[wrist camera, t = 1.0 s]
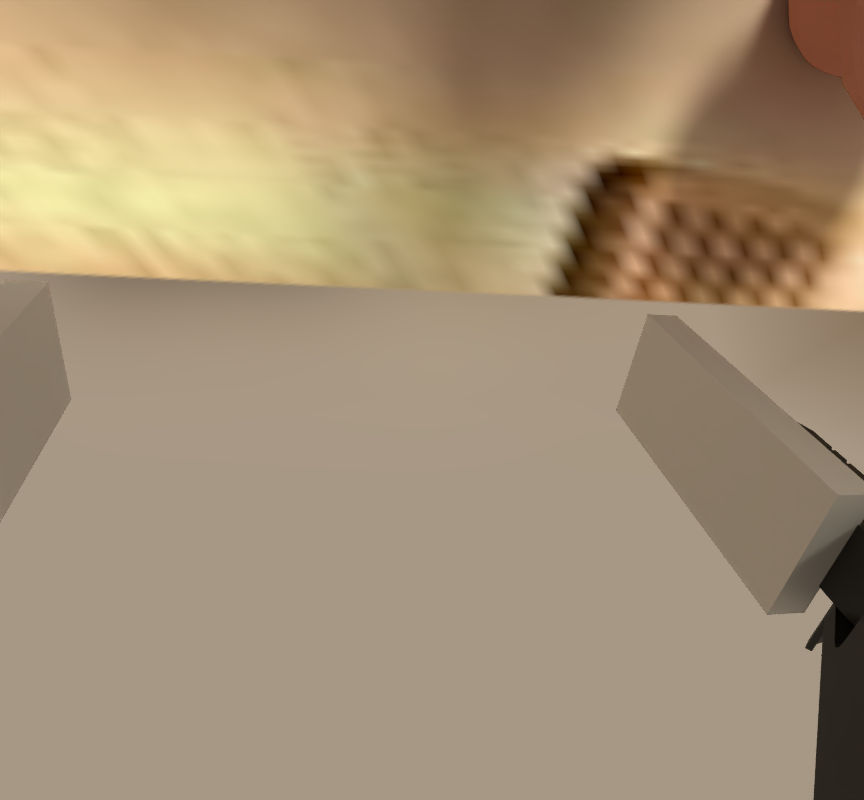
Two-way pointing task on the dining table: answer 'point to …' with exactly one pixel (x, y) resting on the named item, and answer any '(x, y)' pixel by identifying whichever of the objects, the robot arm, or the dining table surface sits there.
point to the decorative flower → (832, 40)
